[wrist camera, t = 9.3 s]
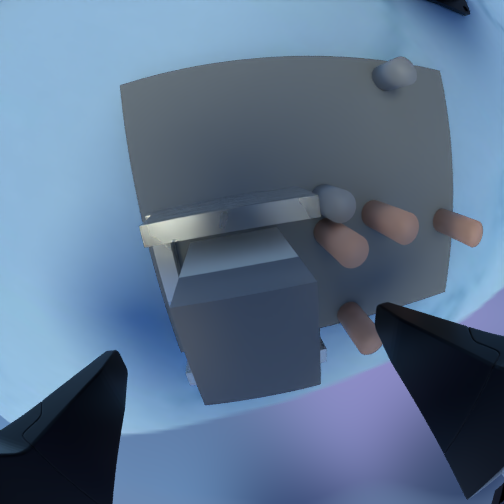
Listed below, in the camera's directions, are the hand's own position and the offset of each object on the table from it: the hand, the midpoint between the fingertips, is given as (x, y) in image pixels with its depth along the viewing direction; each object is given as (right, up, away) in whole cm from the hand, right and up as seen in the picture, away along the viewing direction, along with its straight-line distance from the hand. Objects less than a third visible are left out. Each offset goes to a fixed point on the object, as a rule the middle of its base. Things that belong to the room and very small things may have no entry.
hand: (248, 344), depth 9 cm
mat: (+4, +6, +5) cm, 8 cm away
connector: (0, +2, +5) cm, 5 cm away
